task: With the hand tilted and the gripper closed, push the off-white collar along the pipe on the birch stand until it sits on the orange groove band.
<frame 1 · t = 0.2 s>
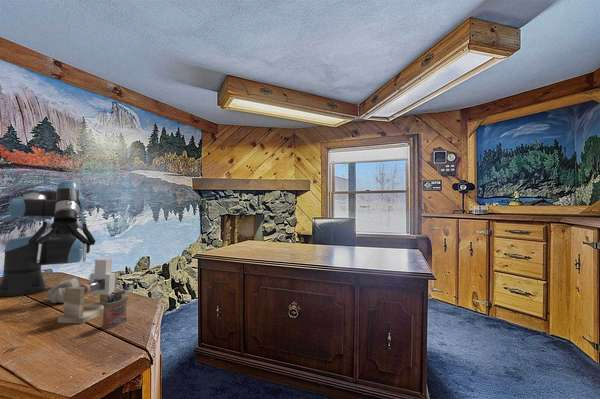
hand: (62, 260, 110), 16 cm above the table, tool tilted 35°, fingers open, 13 cm apart
pipe stand: (91, 313, 100), on the table
fossil replica: (62, 301, 113), on the table
collar: (102, 276, 105), point 12 cm above the table, slide at 0.0 cm
lighter: (114, 325, 90), on the table
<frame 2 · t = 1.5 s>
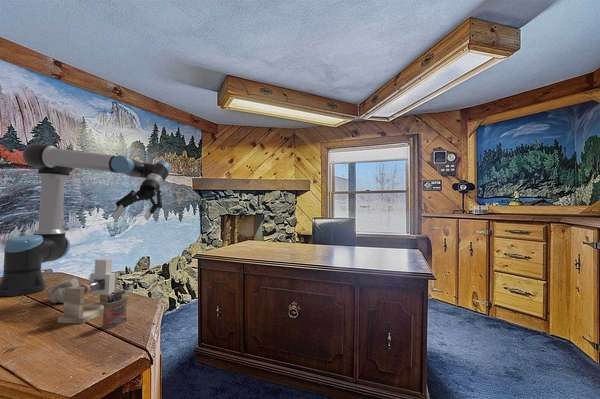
hand: (130, 218, 121), 32 cm above the table, tool tilted 45°, fingers open, 12 cm apart
nothing on the table moved.
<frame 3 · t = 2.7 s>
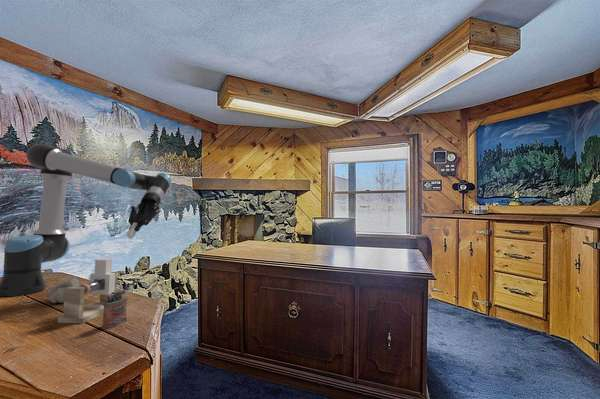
hand: (129, 236, 120), 25 cm above the table, tool tilted 45°, fingers closed
nothing on the table moved.
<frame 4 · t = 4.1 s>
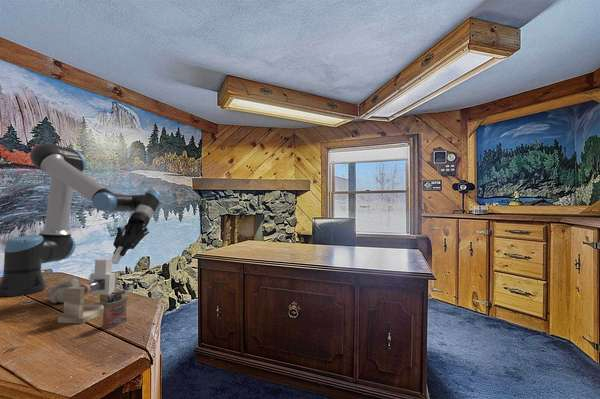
hand: (113, 262, 111), 16 cm above the table, tool tilted 45°, fingers closed
nothing on the table moved.
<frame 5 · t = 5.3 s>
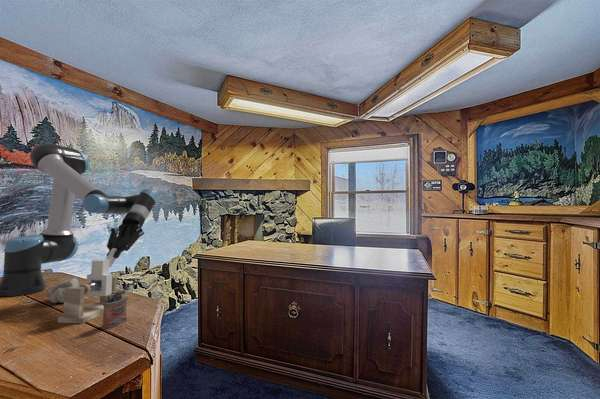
hand: (107, 264, 106), 15 cm above the table, tool tilted 45°, fingers closed
collar: (99, 277, 103), point 11 cm above the table, slide at 1.6 cm, touching gripper
everything else where it was.
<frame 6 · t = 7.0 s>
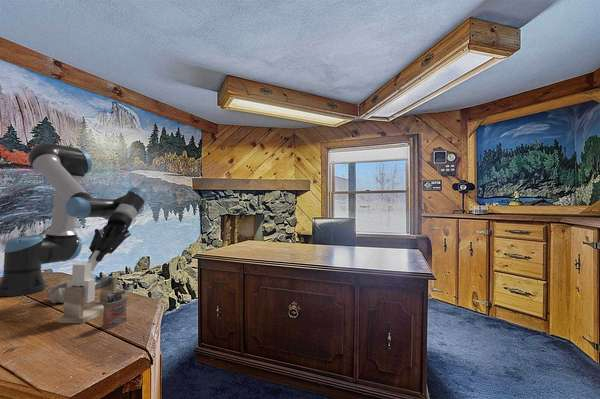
hand: (88, 268, 98), 16 cm above the table, tool tilted 45°, fingers closed
collar: (81, 282, 95), point 11 cm above the table, slide at 9.9 cm, touching gripper
everything else where it was.
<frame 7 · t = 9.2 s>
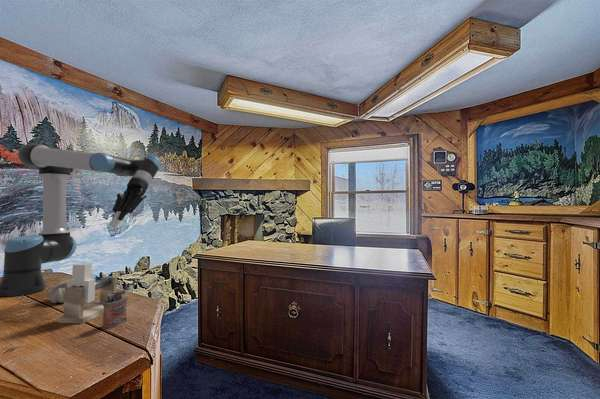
hand: (112, 226, 112), 29 cm above the table, tool tilted 40°, fingers closed
collar: (81, 282, 95), point 11 cm above the table, slide at 9.8 cm
everything else where it was.
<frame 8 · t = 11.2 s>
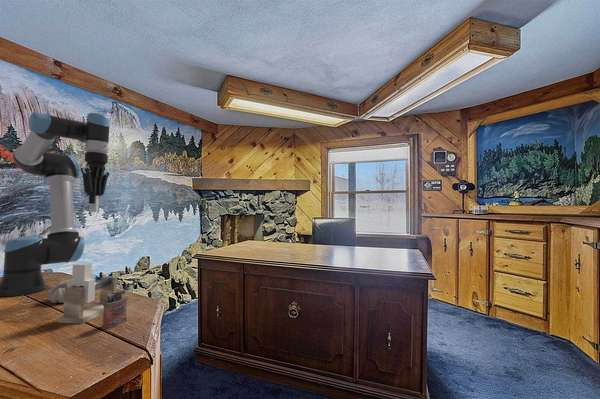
hand: (93, 211, 116), 34 cm above the table, tool pointing down, fingers closed
nothing on the table moved.
at the end: collar slide at 9.8 cm; lighter moved 0.2 cm from its start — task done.
